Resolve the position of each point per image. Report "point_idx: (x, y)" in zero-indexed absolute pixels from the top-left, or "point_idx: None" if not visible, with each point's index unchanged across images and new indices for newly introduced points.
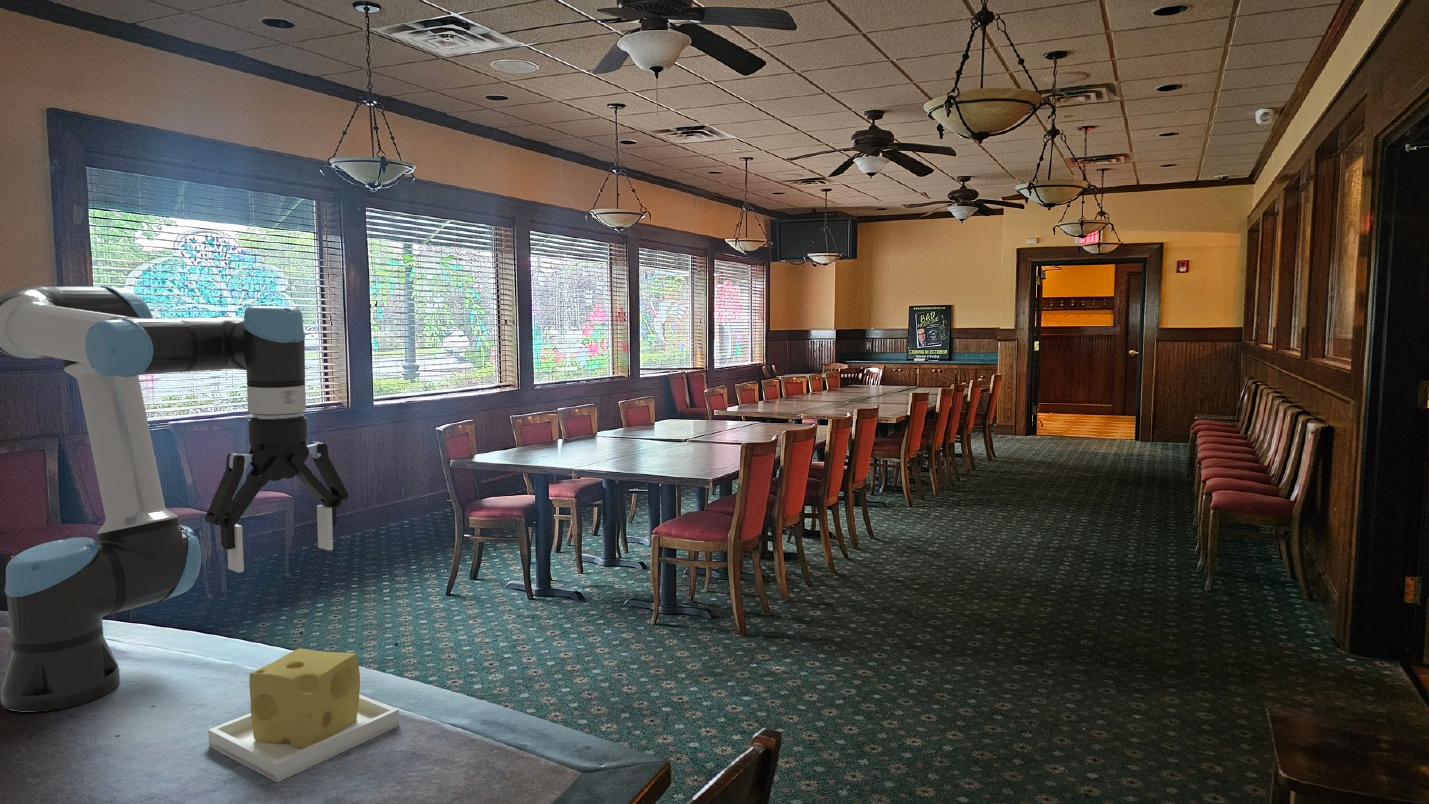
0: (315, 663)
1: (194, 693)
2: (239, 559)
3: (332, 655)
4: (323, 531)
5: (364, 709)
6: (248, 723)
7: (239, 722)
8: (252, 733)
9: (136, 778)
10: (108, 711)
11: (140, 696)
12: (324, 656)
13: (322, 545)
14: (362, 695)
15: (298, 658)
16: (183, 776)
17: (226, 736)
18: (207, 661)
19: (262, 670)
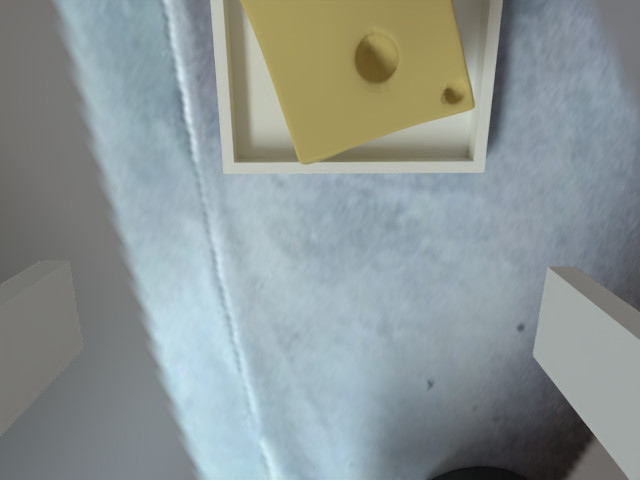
0: (341, 11)
1: (366, 378)
2: (608, 294)
3: (281, 20)
4: (11, 351)
5: (229, 29)
6: (409, 159)
7: (428, 160)
8: (416, 131)
9: (601, 157)
10: (477, 417)
11: (420, 430)
12: (297, 38)
13: (68, 319)
14: (215, 50)
15: (345, 93)
16: (562, 95)
17: (485, 113)
18: (285, 473)
19: (444, 100)
